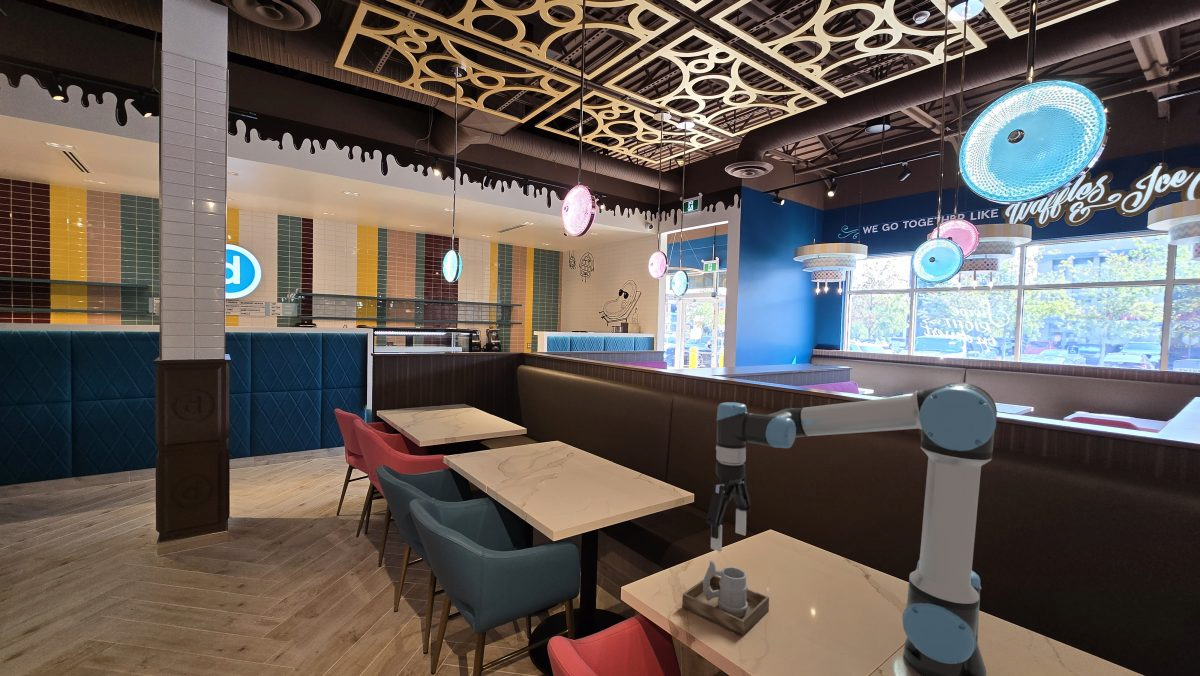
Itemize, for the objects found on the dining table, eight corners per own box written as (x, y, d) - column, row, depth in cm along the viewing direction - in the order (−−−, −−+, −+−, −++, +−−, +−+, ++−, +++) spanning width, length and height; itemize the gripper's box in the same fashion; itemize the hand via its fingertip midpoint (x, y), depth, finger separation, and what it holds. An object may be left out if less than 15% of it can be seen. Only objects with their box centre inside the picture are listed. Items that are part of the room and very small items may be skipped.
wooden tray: (768, 611, 130) (769, 597, 130) (742, 637, 119) (743, 621, 118) (710, 586, 141) (711, 573, 141) (682, 608, 130) (682, 594, 130)
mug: (746, 621, 124) (748, 574, 123) (699, 610, 128) (701, 565, 127) (748, 605, 131) (750, 561, 131) (703, 595, 135) (705, 552, 135)
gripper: (739, 450, 141) (737, 524, 141) (693, 468, 122) (691, 552, 123) (764, 455, 136) (762, 531, 136) (720, 474, 117) (718, 562, 118)
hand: (728, 541), depth 129 cm, fingers open, 13 cm apart
